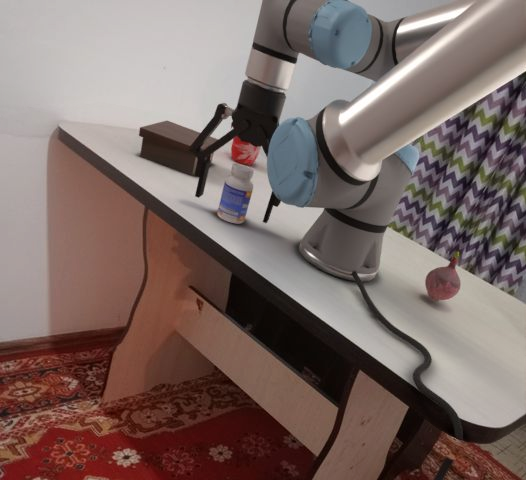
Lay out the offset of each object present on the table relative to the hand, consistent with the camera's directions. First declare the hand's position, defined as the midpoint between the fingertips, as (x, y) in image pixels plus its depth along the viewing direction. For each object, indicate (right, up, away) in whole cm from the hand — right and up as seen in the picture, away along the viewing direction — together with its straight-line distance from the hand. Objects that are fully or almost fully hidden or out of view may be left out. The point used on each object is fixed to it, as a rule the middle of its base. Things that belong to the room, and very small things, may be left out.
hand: (232, 208), depth 87 cm
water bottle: (-1, +26, +40) cm, 48 cm away
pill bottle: (-1, -2, +1) cm, 2 cm away
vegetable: (+37, -18, -2) cm, 41 cm away
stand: (-15, +18, +22) cm, 32 cm away
